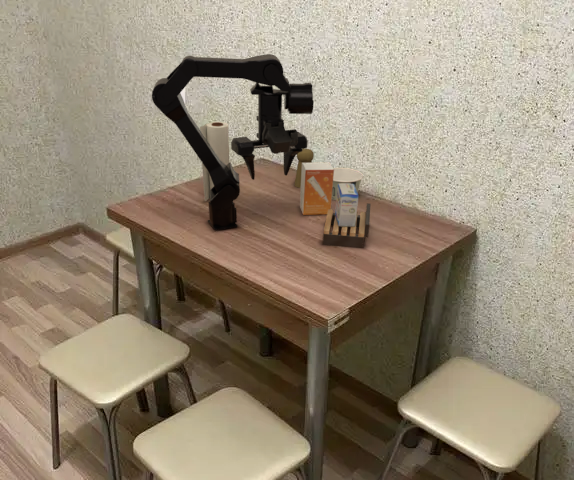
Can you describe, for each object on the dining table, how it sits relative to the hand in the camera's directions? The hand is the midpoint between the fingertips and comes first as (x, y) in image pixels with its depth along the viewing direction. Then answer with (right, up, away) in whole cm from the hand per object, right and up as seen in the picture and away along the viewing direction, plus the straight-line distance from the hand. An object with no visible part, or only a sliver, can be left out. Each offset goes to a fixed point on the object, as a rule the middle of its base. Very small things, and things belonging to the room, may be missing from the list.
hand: (269, 177), depth 149 cm
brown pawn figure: (+10, +8, +33) cm, 35 cm away
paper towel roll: (-16, 0, +21) cm, 27 cm away
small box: (+13, -5, +16) cm, 21 cm away
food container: (+21, +3, +27) cm, 34 cm away
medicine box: (+20, -11, +1) cm, 23 cm away
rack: (+20, -14, +4) cm, 25 cm away
